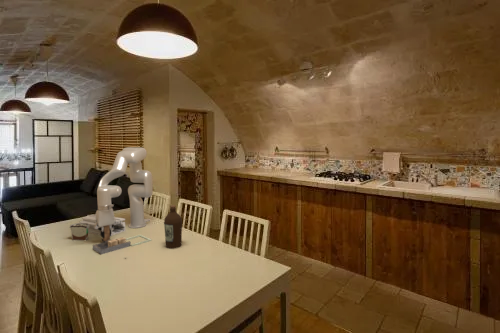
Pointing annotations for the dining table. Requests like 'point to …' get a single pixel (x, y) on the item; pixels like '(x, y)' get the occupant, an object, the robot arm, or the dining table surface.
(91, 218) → the aluminum extrusion profile
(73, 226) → the food container
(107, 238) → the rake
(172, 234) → the olive oil
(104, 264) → the dining table surface
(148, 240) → the tray
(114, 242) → the block
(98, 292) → the dining table surface
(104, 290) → the dining table surface
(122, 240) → the block
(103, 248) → the channel
